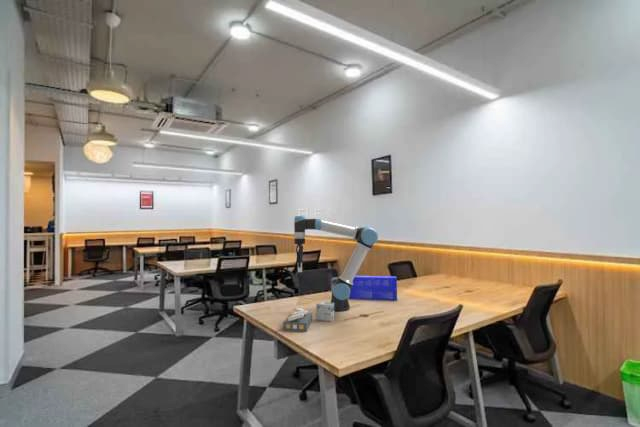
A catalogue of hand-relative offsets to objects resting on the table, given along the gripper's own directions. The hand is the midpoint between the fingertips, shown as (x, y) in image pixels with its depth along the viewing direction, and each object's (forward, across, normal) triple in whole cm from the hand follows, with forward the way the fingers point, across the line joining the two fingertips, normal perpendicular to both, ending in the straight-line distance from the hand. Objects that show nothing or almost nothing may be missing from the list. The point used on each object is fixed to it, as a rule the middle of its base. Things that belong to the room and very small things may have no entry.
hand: (299, 271), depth 228 cm
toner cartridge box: (+30, -53, +51) cm, 79 cm away
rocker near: (+22, +31, +4) cm, 38 cm away
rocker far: (+22, +18, +4) cm, 29 cm away
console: (+29, +24, +4) cm, 38 cm away
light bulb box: (+30, +9, +19) cm, 36 cm away
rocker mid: (+22, +24, +4) cm, 33 cm away
